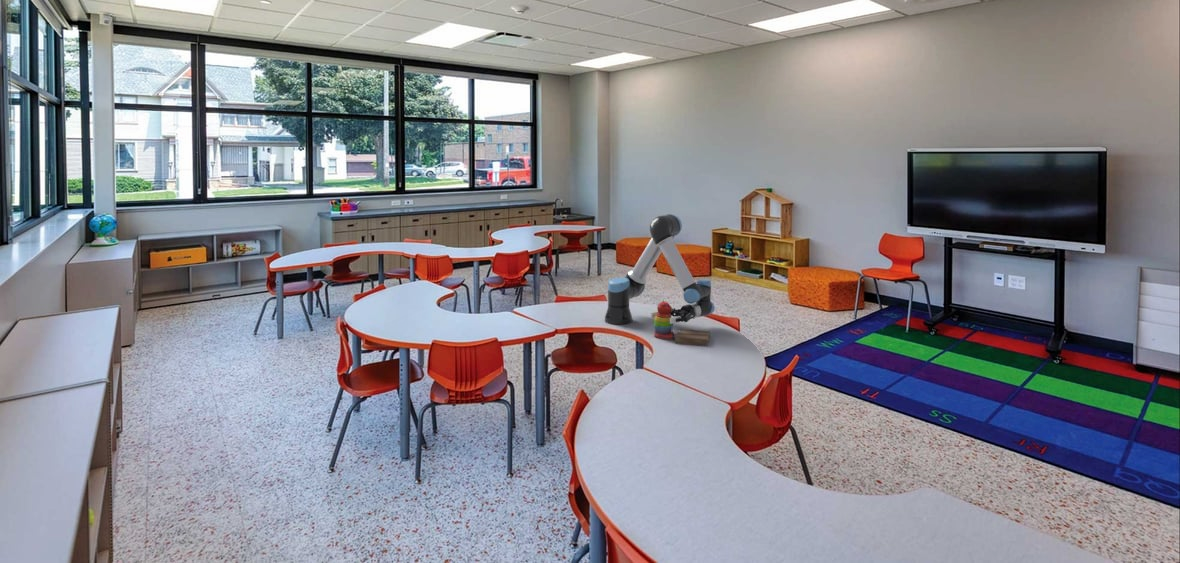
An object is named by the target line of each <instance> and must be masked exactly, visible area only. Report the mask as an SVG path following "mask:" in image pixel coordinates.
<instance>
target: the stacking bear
mask: <svg viewBox="0 0 1180 563" xmlns="http://www.w3.org/2000/svg"><path fill="white" fill-rule="evenodd" d="M656 308H657V311H658V313H657V314H656V316H655V318H654V320H653V328H654V334H653V337H654V338H656V339H661V340H674V335H675V332H674V331H673V325H674V323H672V324H670V318H673V316H671V314H670V312H671V311H672V309H673V307H672V306H671V305H670V304H669V302H666V301H664V300H662V301H661V302H659V303H658V304H657V306H656Z"/></svg>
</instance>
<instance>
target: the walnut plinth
mask: <svg viewBox="0 0 1180 563" xmlns="http://www.w3.org/2000/svg"><path fill="white" fill-rule="evenodd" d="M709 338H711V331H710V330H709V331H707V330H696V329H685V328H684V329H683V328H682V329H679V331H678V333H676V336H675V344H678V343H679V345H691V346H702V345H704V347H707V346H708V344H709V341H710V339H709ZM705 345H706V346H705Z"/></svg>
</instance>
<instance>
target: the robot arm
mask: <svg viewBox="0 0 1180 563" xmlns="http://www.w3.org/2000/svg"><path fill="white" fill-rule="evenodd" d="M682 228H683V224H682V221H681V219H680V217H679V216H677V215H675V214H669V213H668V214H665V215H658V216H655V217H654V218H653V219H652V220H651V222H650V224H649V232H650V236H651V239H650V240H649V241H648V243H647V245H646V246H645V249H644V250H643V251H642V253H641V255H640V256H639V258H638V260H637V262H636V264H635V265H634V266H633V269H631V270H628V271H627V273H626V275H625V276H624V277H620V276H619V277H618V276H617V277H614V278H613V277H612V278H611V279H610V280H609V281H608V285H607V310H606V312H605V315H604V322H605V321H606V322H605V323H607V322H608V324H610V323H611V325H628V324H631V323H632V322H633V315H632V312H631V309H630V299H634V298H636V297H637V298H638V297H639V296H641V294H643V292H644V291H645V289H646V283H647V276H648V275H649V273H650V272H651V270H652V268H653V267H654V265H655V263H656V262H657V260H658V259H659V257H660V255H661V254H662V255H663V256H664V258H665V260H666V262H667V264H668V266H669V267H670V269H671V271H672V273H673V275H674V277H675V278H676V280H677V282H678V284H679V285H680V287H681V289H682V292H683V295H682V296H683V300H684V301H685V302H686V303H688V304H685V305H683V306H681V308H677V309H676V308H675V307H672V311H671V312H670V314H671V317H672V318H670V324H672V323H673V324H676V323H680V322H682V323H687V322H689V321H690V320H692V319H693V320H695V319H696V318H697V319H698V318H700V317H706V316H709V315H711V314H713V313H714V312H715V310H716V309H715V308H716V307H715V304H714V303H713V301H711V295H712V282H711V280H710V279H707V278H699V279H697V280H696V281H695V279H694V277H693V275H692V273H691V272H690V270H689V267H688V266H687V264H686V263H685V260H684V259H683V256H682V255H681V253H680V252H679V250H678V247H677V245H676V244H675V242H674V241H673V240H674V238H675V236H678V234H680V233H681V232H682ZM657 313H658V310H657V311H652V312H650V319H653V318H654V319H655V316H656V314H657Z"/></svg>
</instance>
